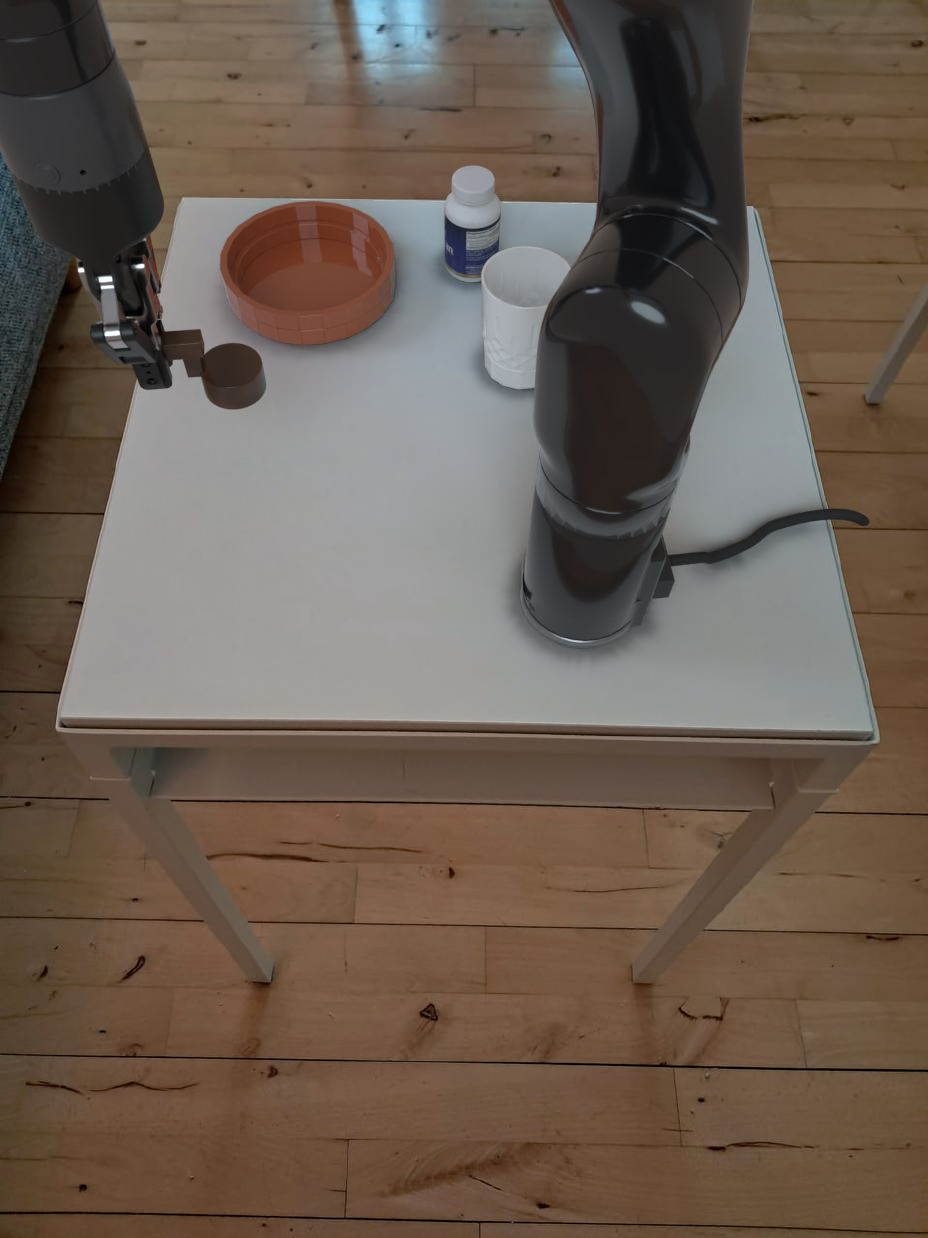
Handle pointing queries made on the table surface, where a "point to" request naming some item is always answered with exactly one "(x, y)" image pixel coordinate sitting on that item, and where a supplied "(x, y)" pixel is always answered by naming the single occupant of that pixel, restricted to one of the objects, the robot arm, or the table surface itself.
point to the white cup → (517, 310)
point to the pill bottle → (471, 223)
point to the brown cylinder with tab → (218, 368)
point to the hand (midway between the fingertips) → (158, 373)
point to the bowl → (308, 272)
